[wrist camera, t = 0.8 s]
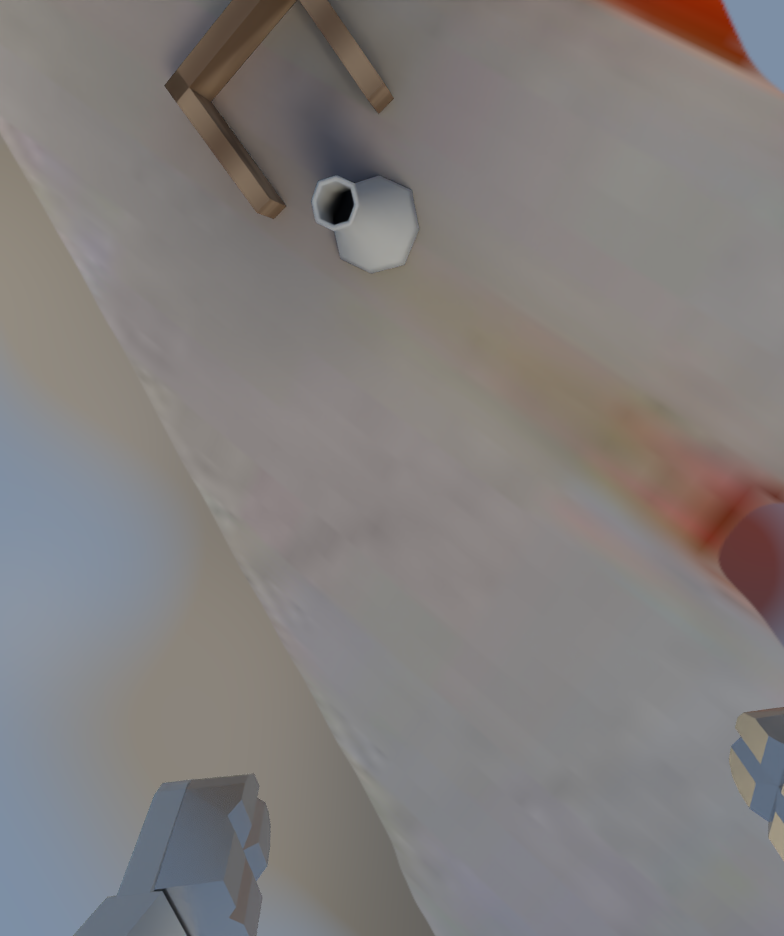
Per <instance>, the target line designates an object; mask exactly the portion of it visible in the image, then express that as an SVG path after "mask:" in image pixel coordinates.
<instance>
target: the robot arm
mask: <svg viewBox="0 0 784 936" xmlns="http://www.w3.org/2000/svg"><path fill="white" fill-rule="evenodd" d="M735 729H736V730H737V732H738V733H739V734H740V736H741V737H740V738H739V739H738V740H737V741H736V742H735V743H734V744H733V745H732V746H731V749H730V755H729V764H730V768H731V773H732V777H733V780H734V782H735V784H736V786H737V788H738V791H739V793H740V794H741V796H742V797H743V799H744V801H745V802H746V804H747V805H748V807H749V809H751V810H752V811H754V812H755V813H757V814H758V815H760V816H761V817H762V818H764V819H765V820H767V821H768V822H769V824H768V838H769V840H770V841H771V843H772V844H773V846H774V847H775V849H776V850H777V852H778V853H779V855H780V856H781V858H782V860H783V861H784V707H780V708H773V709H766V710H758V711H751V712H744V713H742V714H741V715H740V716H738V717H737V721H736V725H735ZM258 790H259V784H258V781H257V779H256V777H255V774H254V773H252V774H242V775H233V776H224V777H213V778H205V779H192V780H183V781H175V782H167V783H162V785H161V786H160V787H159V789H158V790H157V792H156V793H155V795H154V797H153V800H152V803H151V805H150V808H149V811H148V813H147V816H146V819H145V821H144V824H143V827H142V829H141V832H140V835H139V837H138V840H137V843H136V845H135V848H134V851H133V853H132V856H131V859H130V861H129V864H128V867H127V869H126V872H125V875H124V877H123V880H122V883H121V885H120V888H119V891H118V893H117V896H111V897H107V898H106V899H105V900H104V901H103V902H102V904H101V905H100V906H99V907H98V908H97V909H96V910H95V911H94V913H93V914H92V915H91V916H90V917H89V918H88V919H87V920H86V922H85V923H84V924H83V925H82V926H81V927H80V928H79V929H78V931H77V932H76V933H75V934H74V935H73V936H256V934H257V928H258V922H259V915H260V909H261V903H262V895H261V893H260V890H259V887H258V885H257V882H256V881H257V879H258V878H259V877H260V875H261V874H262V872H263V871H264V870H265V868H266V867H267V864H268V857H269V850H270V819H269V812H268V809H267V806H266V803H265V802H264V801H262V800H260V799H259V798H257V795H258Z"/></svg>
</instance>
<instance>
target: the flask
mask: <svg viewBox="0 0 784 936" xmlns="http://www.w3.org/2000/svg"><path fill="white" fill-rule="evenodd" d="M311 204H312V208H313V213H314V217H315V221H316V223H318V224H320V225H322V226H324V227H326V228H328V229H331V230H333V231H334V232H335V236H336V241H337V245H338V250H339V254H340V259H342V260H344V261H346V262H348V263H350V264H352V265H354V266H356V267H358V268H361V269H363V270H365V271H367V272H369V273H375V272H379V271H383V270H387V269H391V268H394V267H398V266H402V265H405V262H406V260H407V258H408V255H409V253H410V250H411V248H412V246H413V243H414V241H415V238H416V236H417V234H418V231H419V225H418V220H417V214H416V209H415V204H414V199H413V193H412V190H410V189H408V188H406V187H404V186H401V185H399V184H397V183H395V182H393V181H391V180H388V179H386V178H384V177H382V176H380V175H379V176H375V177H372V178H369V179H366V180H363V181H360V182H356V183H353V182H350V181H348V180H346V179H344V178H342V177H340V176H338V175H335V176H331V177H328V178H325V179H322V180H319V181H318V182H317V185H316V188H315V191H314V194H313V197H312V200H311Z"/></svg>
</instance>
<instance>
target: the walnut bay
mask: <svg viewBox="0 0 784 936" xmlns="http://www.w3.org/2000/svg"><path fill="white" fill-rule="evenodd" d="M296 1H297V0H232V1H231V2H230V4H229V5H228V6H227V7H226V9H225V10H224V11H223V13H222V14H221V15H220V16H219V18H218V19H217V20H216V21H215V23H214V24H213V25H212V26H211V28H210V29H209V30H208V31H207V33H206V34H205V35H204V36H203V38H202V39H201V40H200V41H199V43H198V44H197V45H196V46H195V48H194V49H193V50H192V51H191V53H190V54H189V55H188V57H187V58H186V59H185V60H184V62H183V63H182V64H181V65H180V67H179V68H178V69H177V70H176V72H175V73H174V74H173V75H172V77H171V78H170V79H169V80H168V82H167V83H166V84H165V85H164V86H165V87H166V89H167V90H168V91H169V93H170V94H171V96H172V97H173V98H174V100H175V101H176V102H177V104H178V105H179V107H180V108H181V109H182V111H183V112H184V113H185V115H186V116H187V118H188V119H189V120H190V122H191V123H192V124H193V126H194V127H195V129H196V130H197V131H198V133H199V134H200V135H201V137H202V138H203V140H204V141H205V142H206V144H207V145H208V146H209V148H210V149H211V151H212V152H213V153H214V155H215V156H216V157H217V159H218V160H219V162H220V163H221V164H222V166H223V167H224V168H225V170H226V171H227V173H228V174H229V175H230V177H231V178H232V179H233V181H234V182H235V184H236V185H237V186H238V188H239V189H240V190H241V192H242V193H243V195H244V196H245V197H246V199H247V200H248V201H249V203H250V204H251V205H252V207H253V208H254V210H255V211H256V212H257V213H259V214H262V215H264V216H267V217H270V218H273V219H274V218H275V217H276V216H277V215H278V214H279V213H280V212H281V211H282V210H283V209H284V208H285V207H286V205H285V204H284V202H283V201H282V200H281V198H280V197H279V195H278V194H277V193H276V191H275V190H274V189H273V187H272V186H271V184H270V183H269V182H268V180H267V179H266V177H265V176H264V175H263V173H262V172H261V171H260V169H259V168H258V166H257V165H256V164H255V162H254V161H253V159H252V158H251V157H250V155H249V154H248V153H247V151H246V150H245V148H244V147H243V146H242V144H241V143H240V141H239V140H238V139H237V137H236V136H235V134H234V133H233V132H232V130H231V129H230V128H229V126H228V125H227V123H226V122H225V121H224V119H223V118H222V116H221V115H220V114H219V112H218V111H217V110H216V108H215V107H214V105H213V104H212V103H211V101H212V100H213V99H214V97H215V96H216V95H217V94H218V93H219V92H220V90H221V89H222V88H223V87H224V86H225V84H226V83H227V82H228V81H229V80H230V79H231V77H232V76H233V75H234V74H235V73H236V71H237V70H238V69H239V68H240V67H241V66H242V64H243V63H244V62H245V61H246V60H247V58H248V57H249V56H250V55H251V54H252V53H253V51H254V50H255V49H256V48H257V47H258V45H259V44H260V43H261V42H262V41H263V40H264V38H265V37H266V36H267V35H268V34H269V32H270V31H271V30H272V29H273V28H274V27H275V25H276V24H277V23H278V22H279V21H280V19H281V18H282V17H283V16H284V15H285V14H286V12H287V11H288V10H289V9H290V8H291V6H292V5H293V4H294V3H295V2H296ZM300 2H301V3H302V5H303V6H304V8H305V9H306V11H307V12H308V14H309V15H310V16H311V18H312V19H313V21H314V22H315V24H316V25H317V27H318V28H319V29H320V31H321V32H322V34H323V35H324V37H325V38H326V40H327V41H328V43H329V44H330V45H331V47H332V48H333V50H334V51H335V53H336V54H337V56H338V57H339V58H340V60H341V61H342V63H343V64H344V66H345V67H346V69H347V70H348V72H349V73H350V74H351V76H352V77H353V79H354V80H355V82H356V83H357V85H358V86H359V87H360V89H361V90H362V92H363V93H364V95H365V96H366V98H367V99H368V100H369V102H370V103H371V104H372V106H373V107H374V108H375V110H376V111H377V112H378V114H379V113H380V112H381V111H382V110H383V109H384V108H385V107H386V106H387V105H388V104H389V103H390V102H391V101H392V100H393V99H394V98H393V96H392V95H391V93H390V92H389V90H388V88H387V87H386V85H385V84H384V82H383V81H382V79H381V78H380V76H379V75H378V73H377V72H376V70H375V69H374V68H373V66H372V65H371V63H370V62H369V60H368V59H367V57H366V56H365V54H364V53H363V51H362V50H361V49H360V47H359V46H358V44H357V43H356V41H355V40H354V38H353V37H352V35H351V34H350V32H349V31H348V30H347V28H346V27H345V25H344V24H343V22H342V21H341V19H340V18H339V16H338V15H337V13H336V12H335V11H334V9H333V8H332V6H331V5H330V3H329V2H328V0H300Z"/></svg>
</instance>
